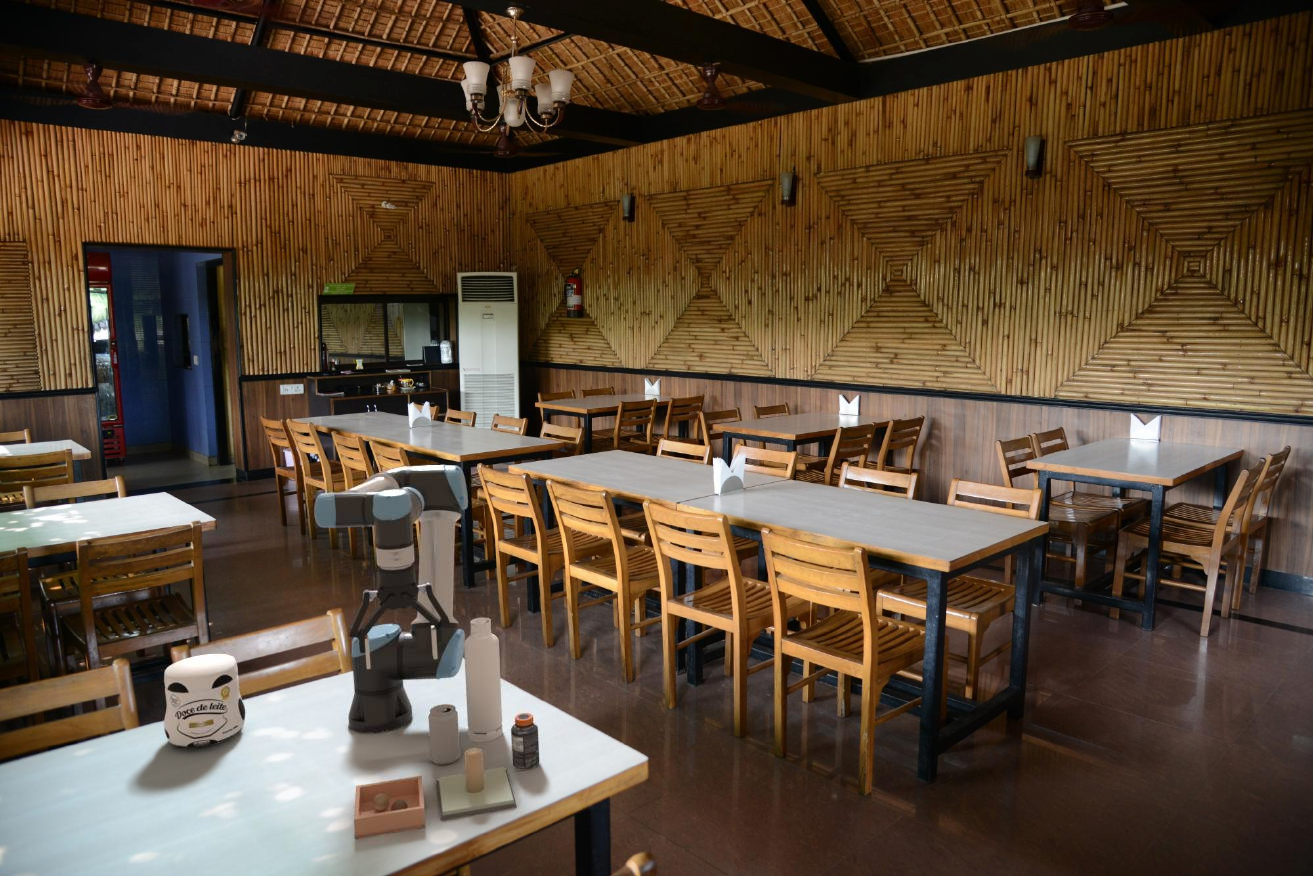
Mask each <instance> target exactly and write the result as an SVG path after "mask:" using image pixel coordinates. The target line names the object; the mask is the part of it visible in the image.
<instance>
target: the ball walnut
mask: <svg viewBox="0 0 1313 876" xmlns="http://www.w3.org/2000/svg"><path fill="white" fill-rule="evenodd" d="M407 808H408V805H407V803H406V802H405V801H404V800H401V799H399V800H396V801H395V802H394V803H393V804H392V806H391V811H395V810H401V809H407Z"/></svg>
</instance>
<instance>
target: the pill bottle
mask: <svg viewBox="0 0 1313 876" xmlns="http://www.w3.org/2000/svg"><path fill="white" fill-rule="evenodd" d="M510 734H511V737H510V738H511V755H512V756H511V760H512V766H513V768H514V769H516V770H521V771H528V770H532V769H535V768H536V767H537V766H538V765H539V764H540V748H539V747H540V746H539V743H540V740H539V728H538V724H537V723H535V722H534V715H533V713H529V712H521V713H519V714H516V715H515V717H514V724H512V725H511V728H510Z"/></svg>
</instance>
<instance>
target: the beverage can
mask: <svg viewBox="0 0 1313 876" xmlns="http://www.w3.org/2000/svg"><path fill="white" fill-rule="evenodd" d="M428 730H429V731H428V734H429V749H430V750H429V753H430V760H431V762H433V763H434V764H436V765H440V766H446V765H450V764H453V763H455V762H456V761H457V760H458V759H459V758H460V755H461V753H460V733H459V716H458V711H457V709H456V706H455V705H453V704H448V703H444V704H438V705H435V706H433V707H431V708H430V709H429V714H428Z"/></svg>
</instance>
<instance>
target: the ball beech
mask: <svg viewBox="0 0 1313 876" xmlns="http://www.w3.org/2000/svg"><path fill="white" fill-rule="evenodd" d="M388 805H389V798H388V796H387V795H385V794H378V795H377V796H375V798H374V799H373V807H374V808H375V809H376V810H378V811H382V810H385V809H386V808H387V807H388Z"/></svg>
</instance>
